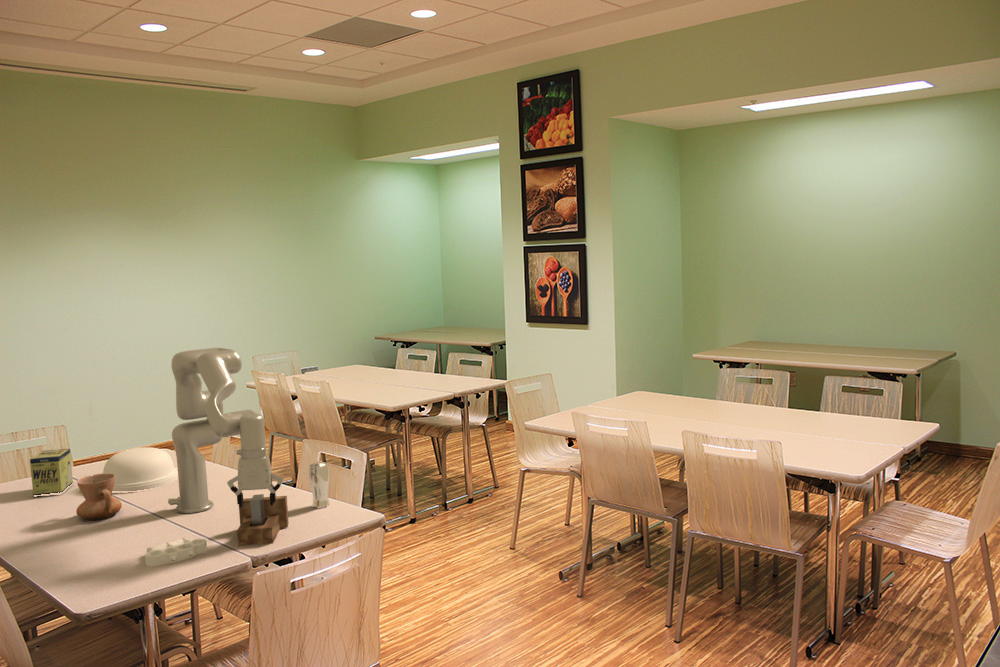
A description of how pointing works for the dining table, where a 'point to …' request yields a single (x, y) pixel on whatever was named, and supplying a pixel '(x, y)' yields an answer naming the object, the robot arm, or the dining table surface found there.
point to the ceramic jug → (98, 497)
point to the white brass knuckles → (174, 551)
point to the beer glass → (319, 483)
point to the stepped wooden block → (267, 532)
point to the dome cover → (141, 469)
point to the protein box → (51, 471)
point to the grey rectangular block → (257, 510)
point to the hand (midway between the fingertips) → (256, 505)
